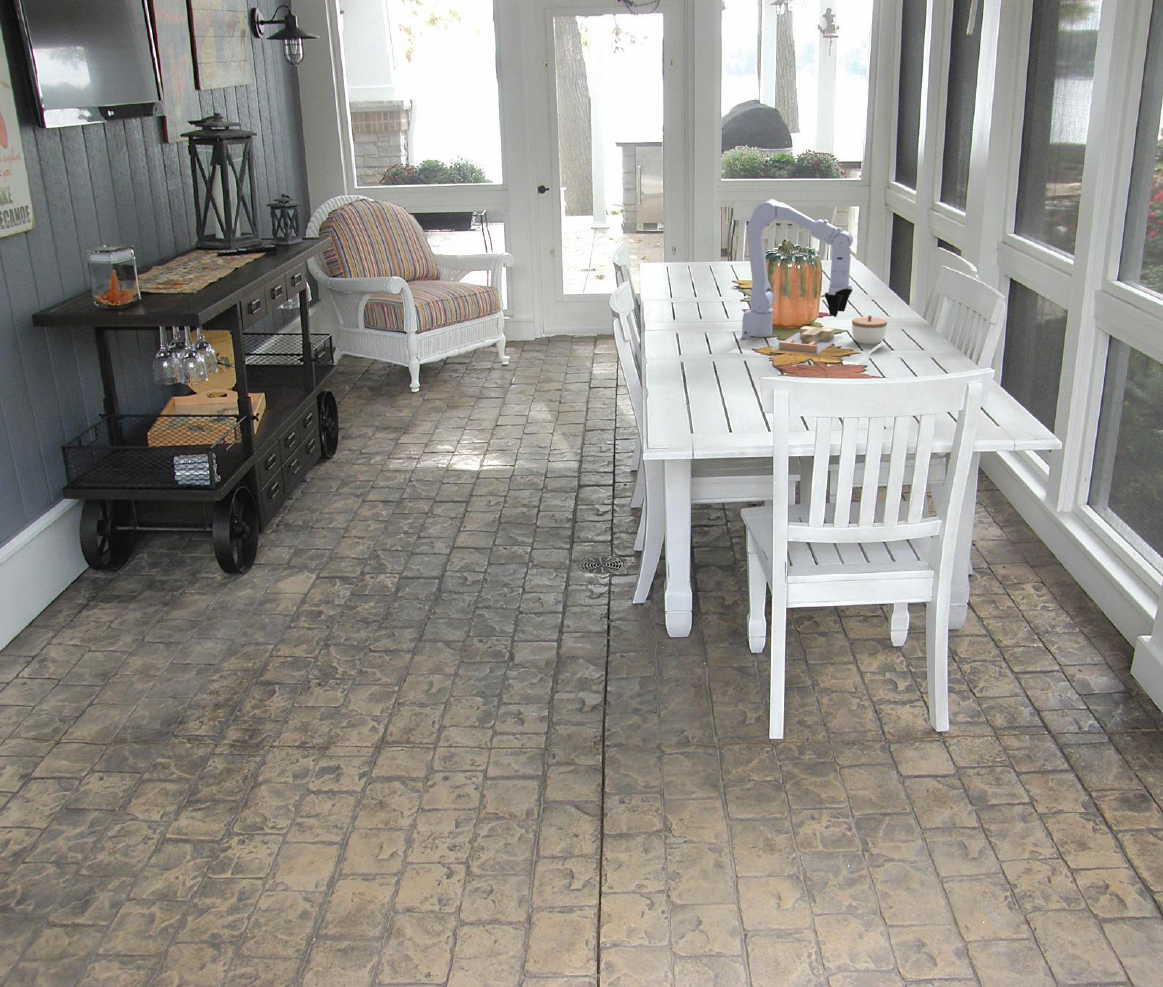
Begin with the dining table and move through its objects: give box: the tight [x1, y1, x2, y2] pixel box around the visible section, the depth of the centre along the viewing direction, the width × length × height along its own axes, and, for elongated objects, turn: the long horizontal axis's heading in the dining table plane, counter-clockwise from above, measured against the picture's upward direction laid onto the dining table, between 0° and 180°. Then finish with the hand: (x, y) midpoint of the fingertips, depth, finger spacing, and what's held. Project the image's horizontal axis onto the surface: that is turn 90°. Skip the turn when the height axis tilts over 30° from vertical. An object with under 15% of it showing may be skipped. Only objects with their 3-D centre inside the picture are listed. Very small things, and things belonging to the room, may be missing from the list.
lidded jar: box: [851, 314, 888, 347], centre depth 354 cm, size 11×11×9 cm
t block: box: [799, 325, 835, 344], centre depth 356 cm, size 10×11×3 cm
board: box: [769, 331, 843, 356], centre depth 353 cm, size 15×26×3 cm, turn 150°
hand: (837, 313), depth 354 cm, fingers open, 7 cm apart
